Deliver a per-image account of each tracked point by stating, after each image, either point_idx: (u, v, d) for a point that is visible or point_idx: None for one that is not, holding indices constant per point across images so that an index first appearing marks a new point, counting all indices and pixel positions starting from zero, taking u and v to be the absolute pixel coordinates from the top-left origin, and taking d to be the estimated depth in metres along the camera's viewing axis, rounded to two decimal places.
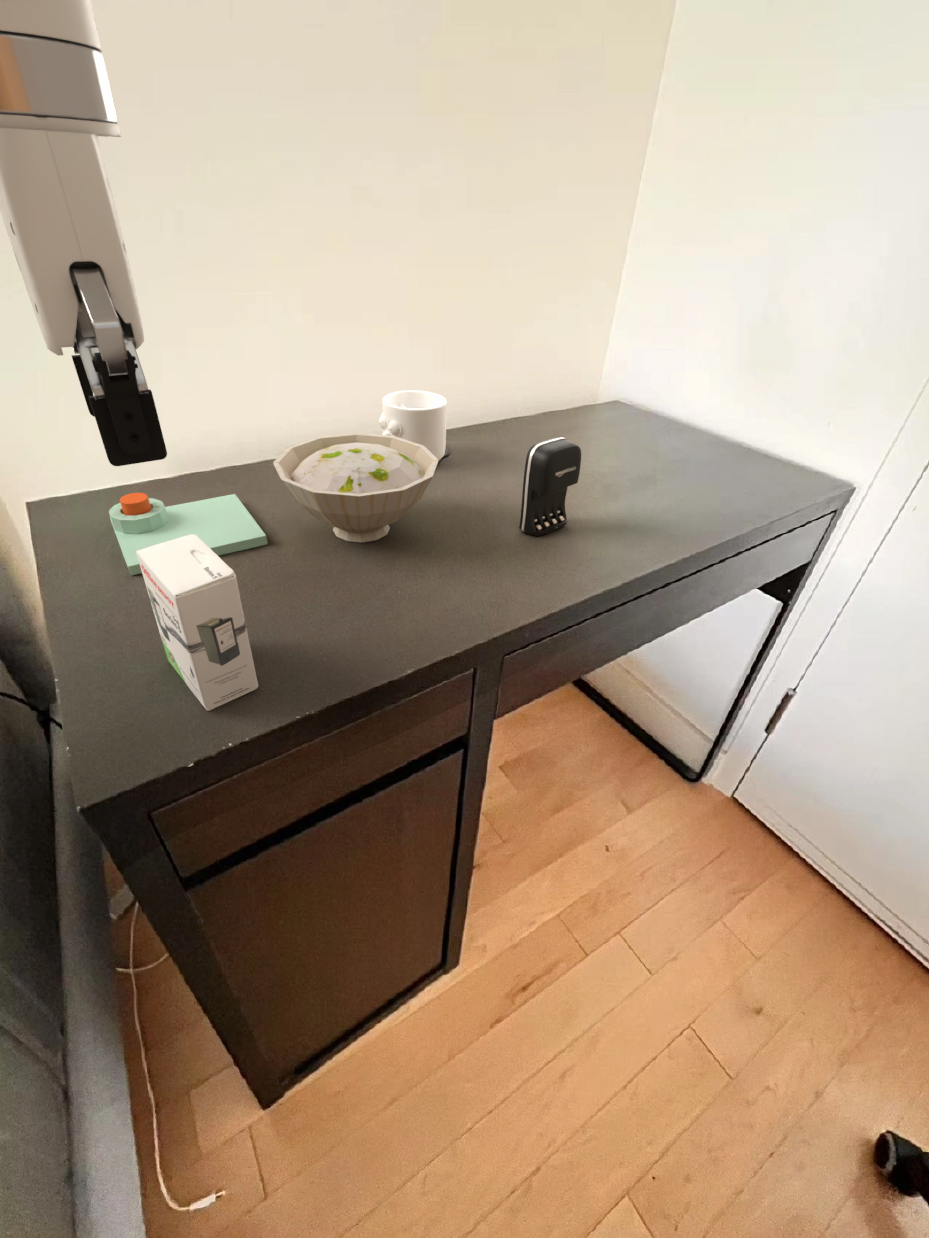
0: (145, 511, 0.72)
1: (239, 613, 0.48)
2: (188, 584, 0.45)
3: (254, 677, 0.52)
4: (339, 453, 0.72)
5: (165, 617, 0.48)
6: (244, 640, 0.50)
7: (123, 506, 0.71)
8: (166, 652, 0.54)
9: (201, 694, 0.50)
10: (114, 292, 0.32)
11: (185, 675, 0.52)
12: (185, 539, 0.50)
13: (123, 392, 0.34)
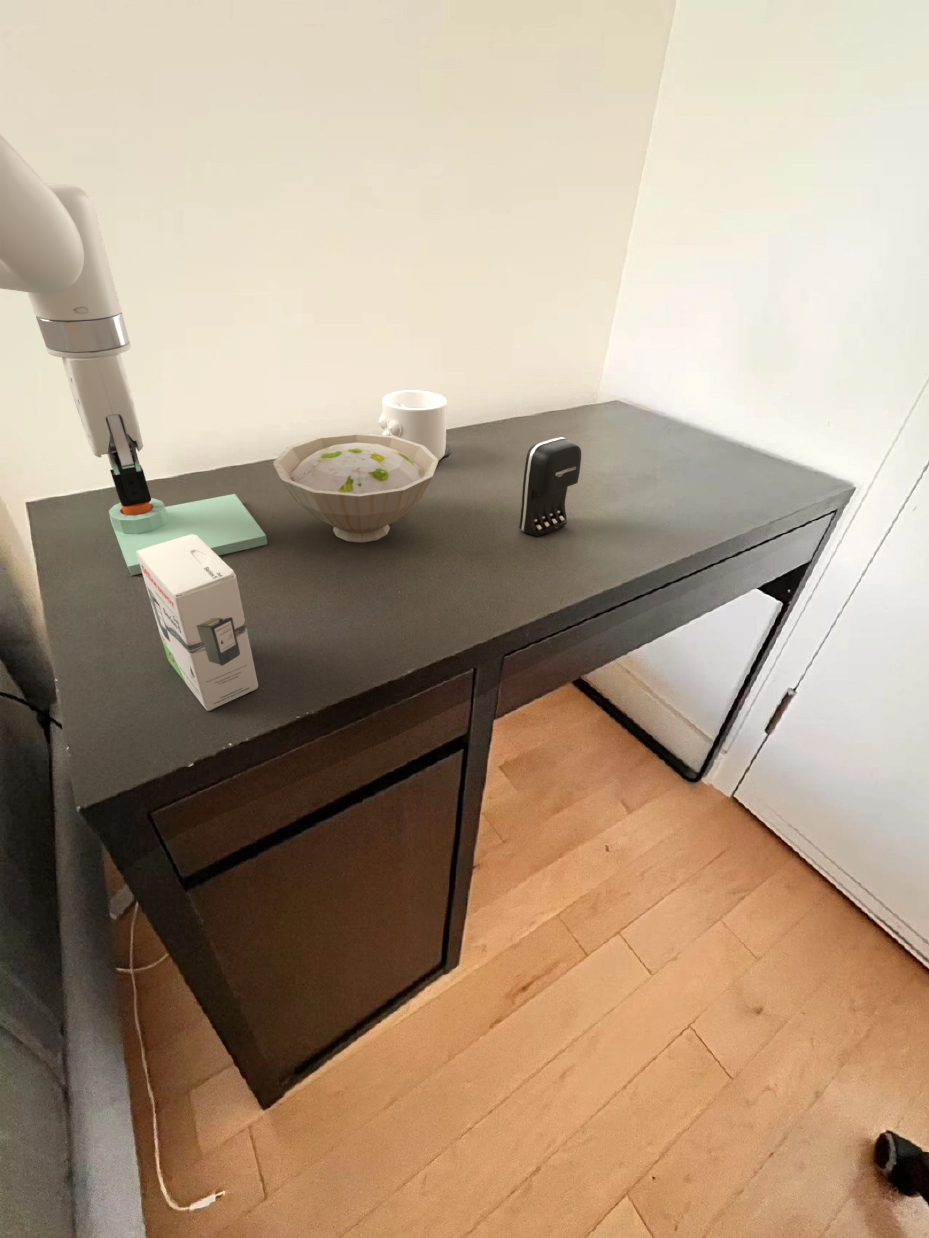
0: None
1: (239, 613, 0.48)
2: (189, 584, 0.45)
3: (254, 677, 0.52)
4: (339, 453, 0.72)
5: (165, 617, 0.48)
6: (244, 640, 0.50)
7: (124, 510, 0.72)
8: (166, 652, 0.54)
9: (201, 694, 0.50)
10: (128, 427, 0.63)
11: (185, 675, 0.52)
12: (185, 539, 0.50)
13: (128, 471, 0.69)
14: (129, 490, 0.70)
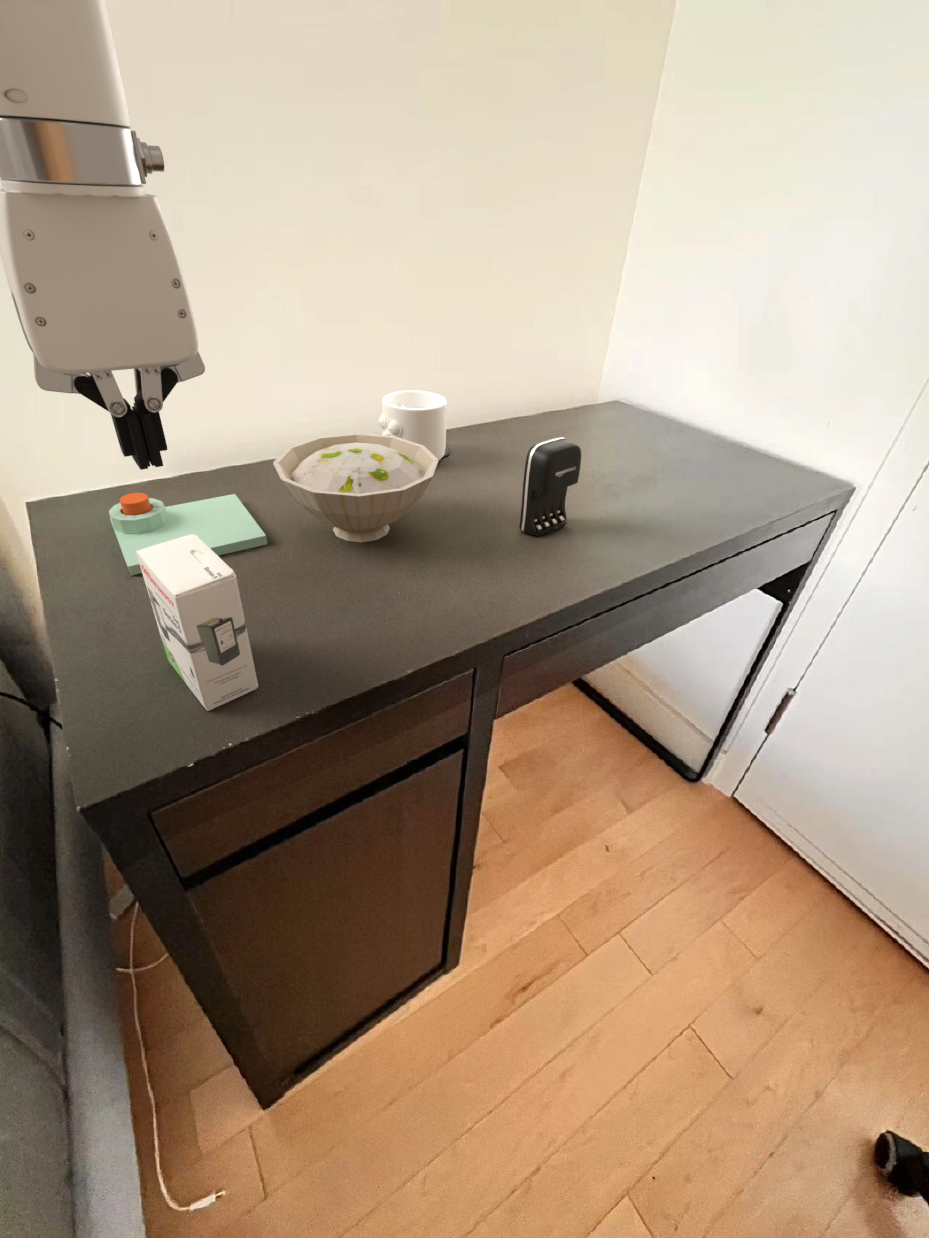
0: (145, 511, 0.72)
1: (239, 613, 0.48)
2: (189, 584, 0.45)
3: (254, 677, 0.52)
4: (339, 453, 0.72)
5: (165, 617, 0.48)
6: (244, 640, 0.50)
7: (123, 506, 0.71)
8: (166, 652, 0.54)
9: (201, 694, 0.50)
10: (22, 321, 0.38)
11: (185, 675, 0.52)
12: (185, 539, 0.50)
13: None
14: (118, 436, 0.45)
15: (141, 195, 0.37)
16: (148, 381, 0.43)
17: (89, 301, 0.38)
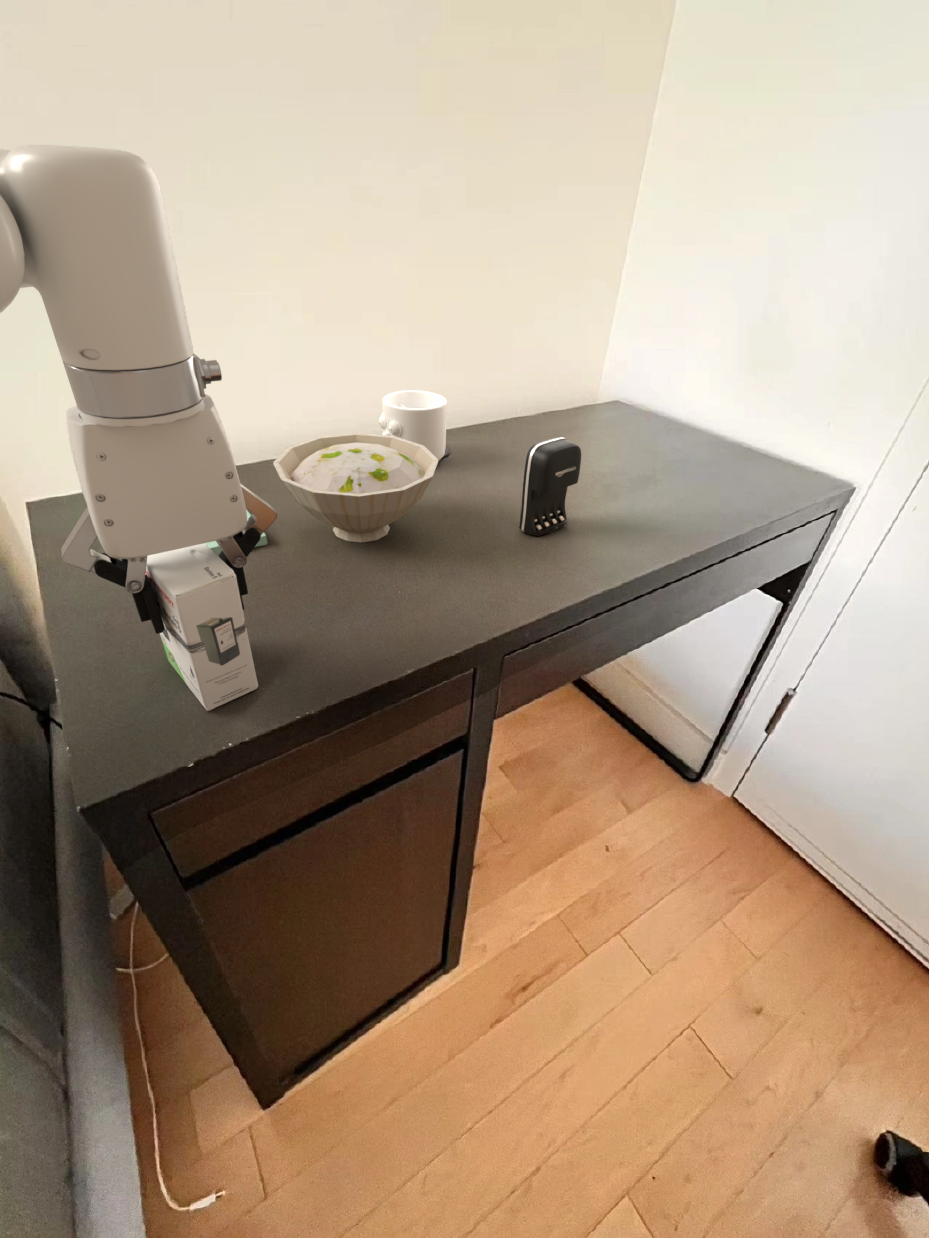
0: None
1: (239, 613, 0.48)
2: (189, 584, 0.45)
3: (254, 677, 0.52)
4: (339, 453, 0.72)
5: (165, 617, 0.49)
6: (244, 640, 0.50)
7: None
8: (166, 652, 0.54)
9: (201, 694, 0.50)
10: (92, 520, 0.41)
11: (185, 675, 0.52)
12: None
13: None
14: None
15: (201, 409, 0.41)
16: (226, 548, 0.47)
17: (152, 501, 0.42)
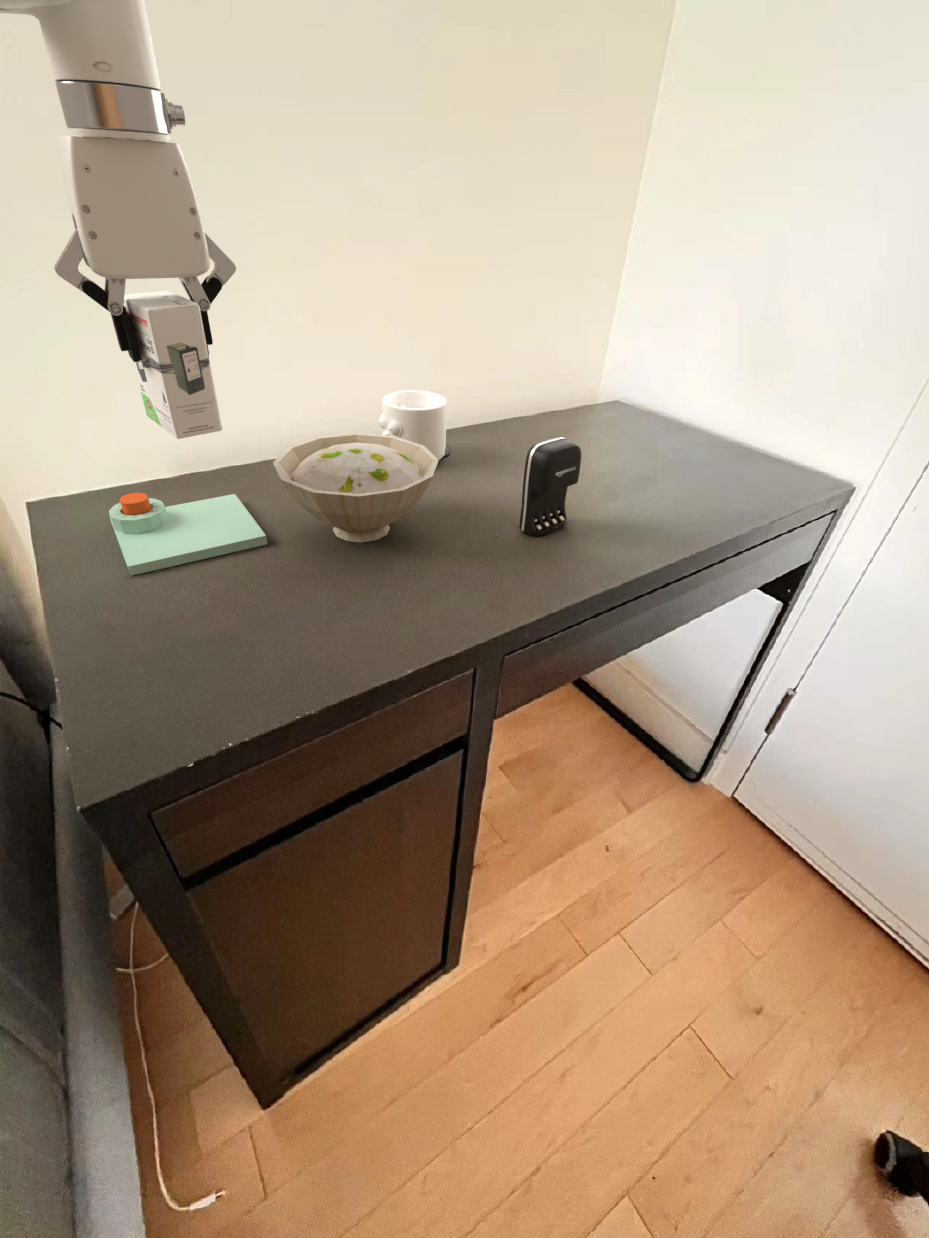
0: (145, 511, 0.72)
1: (203, 345, 0.58)
2: (160, 306, 0.55)
3: (218, 418, 0.62)
4: (339, 453, 0.72)
5: (142, 350, 0.58)
6: (208, 375, 0.59)
7: (123, 506, 0.71)
8: (145, 404, 0.64)
9: (172, 420, 0.59)
10: (79, 235, 0.51)
11: (159, 412, 0.61)
12: (160, 292, 0.60)
13: None
14: (117, 334, 0.57)
15: (167, 141, 0.50)
16: (192, 288, 0.57)
17: (128, 222, 0.51)
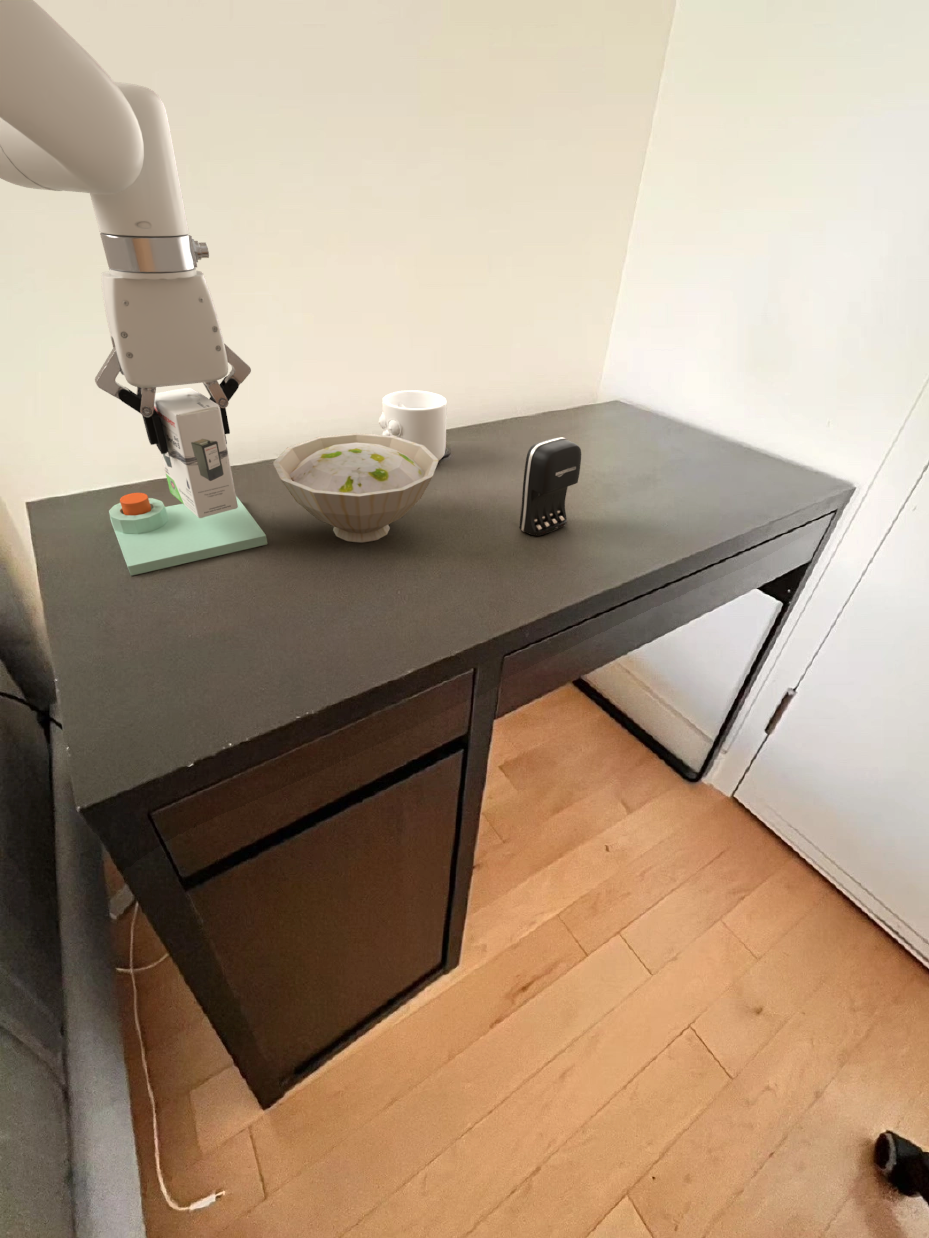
0: (145, 511, 0.72)
1: (222, 439, 0.66)
2: (185, 410, 0.63)
3: (234, 497, 0.70)
4: (339, 453, 0.72)
5: (168, 443, 0.66)
6: (226, 463, 0.67)
7: (123, 506, 0.71)
8: (169, 484, 0.72)
9: (194, 503, 0.67)
10: (117, 354, 0.59)
11: (183, 494, 0.69)
12: (183, 389, 0.68)
13: None
14: (147, 430, 0.65)
15: (194, 275, 0.58)
16: (213, 390, 0.65)
17: (159, 342, 0.59)
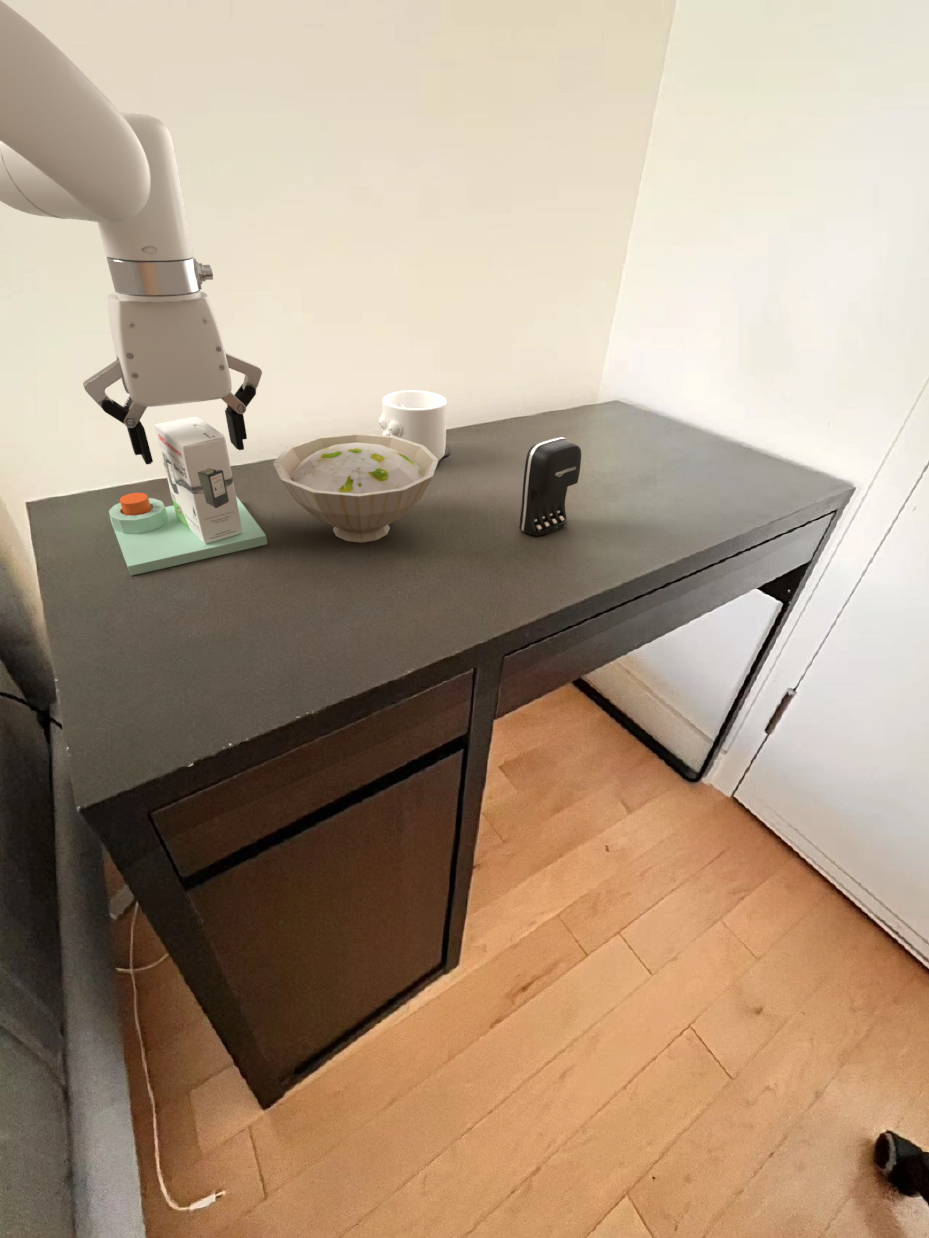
0: (145, 511, 0.72)
1: (228, 468, 0.68)
2: (192, 441, 0.65)
3: (239, 523, 0.72)
4: (339, 453, 0.72)
5: (175, 471, 0.68)
6: (232, 491, 0.69)
7: (123, 506, 0.71)
8: (175, 509, 0.74)
9: (200, 529, 0.69)
10: (123, 374, 0.60)
11: (189, 520, 0.71)
12: (189, 419, 0.70)
13: None
14: (131, 441, 0.65)
15: (198, 297, 0.59)
16: (228, 400, 0.66)
17: (164, 362, 0.61)
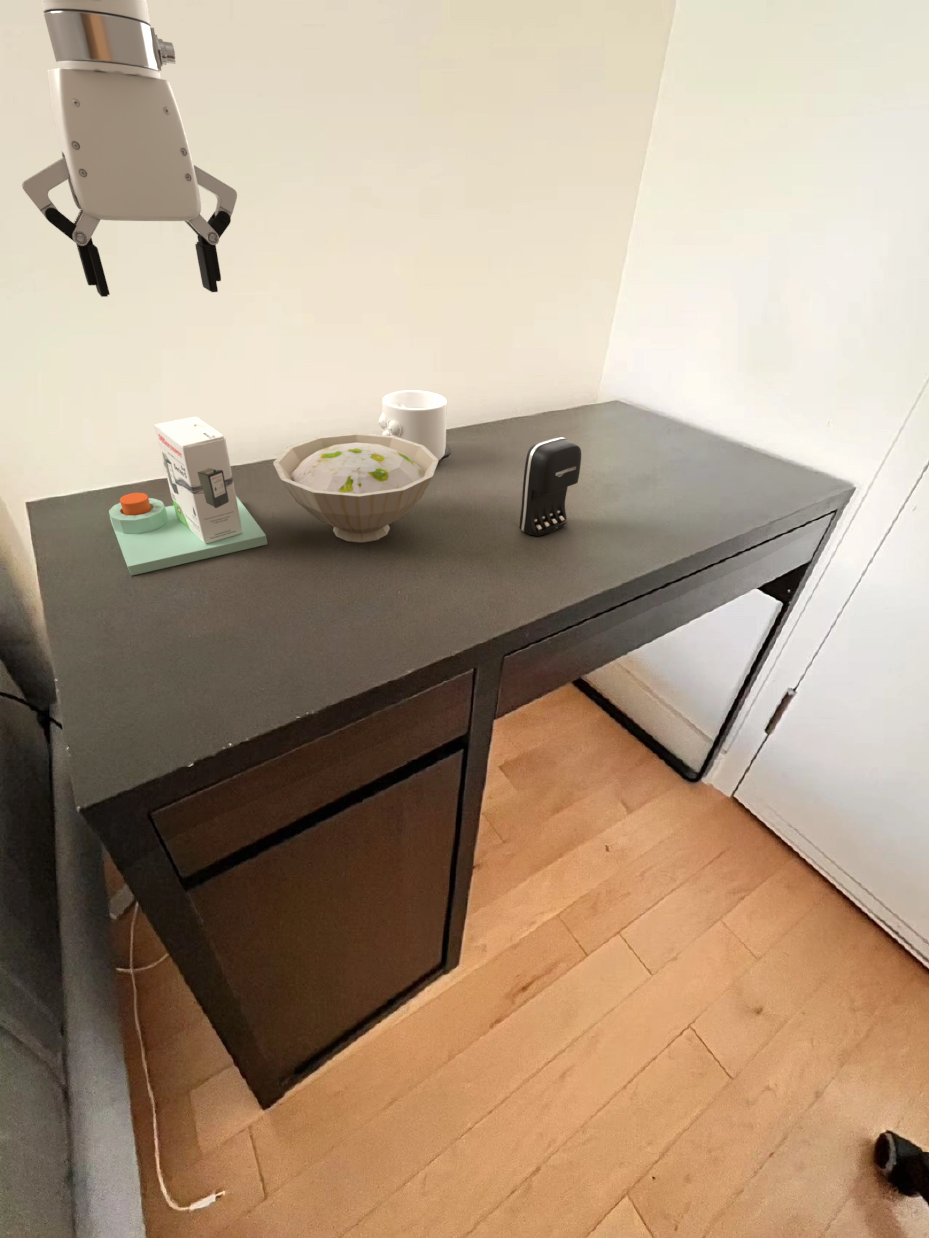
0: (145, 511, 0.72)
1: (228, 468, 0.68)
2: (192, 441, 0.65)
3: (239, 523, 0.72)
4: (339, 453, 0.72)
5: (175, 471, 0.68)
6: (232, 491, 0.69)
7: (123, 506, 0.71)
8: (175, 509, 0.74)
9: (201, 529, 0.69)
10: (69, 173, 0.51)
11: (189, 520, 0.71)
12: (189, 419, 0.70)
13: None
14: (83, 268, 0.56)
15: (157, 78, 0.50)
16: (197, 224, 0.57)
17: (118, 160, 0.51)
